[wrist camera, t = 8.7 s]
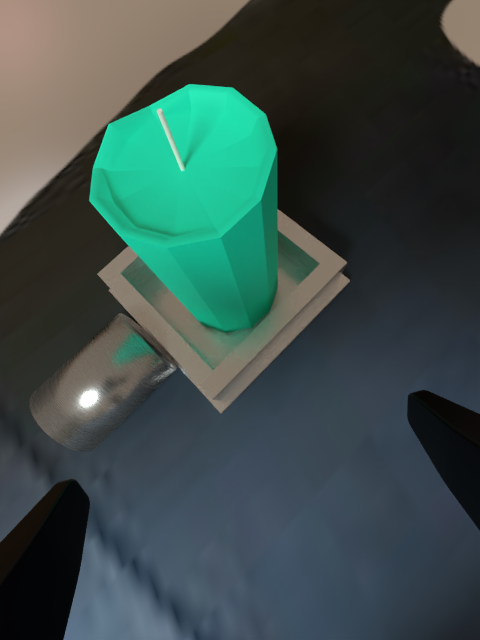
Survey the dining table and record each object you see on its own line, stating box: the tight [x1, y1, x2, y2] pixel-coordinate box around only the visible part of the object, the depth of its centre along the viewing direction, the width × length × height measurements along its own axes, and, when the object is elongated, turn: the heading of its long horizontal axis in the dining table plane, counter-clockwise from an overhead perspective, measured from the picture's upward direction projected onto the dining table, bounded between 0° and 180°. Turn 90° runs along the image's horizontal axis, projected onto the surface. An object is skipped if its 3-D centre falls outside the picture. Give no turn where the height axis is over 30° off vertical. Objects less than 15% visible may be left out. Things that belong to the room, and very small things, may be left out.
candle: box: [89, 84, 278, 333], centre depth 14 cm, size 6×6×12 cm
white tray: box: [29, 209, 350, 452], centre depth 17 cm, size 11×17×4 cm, turn 135°
